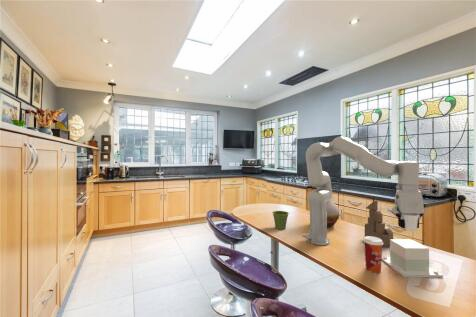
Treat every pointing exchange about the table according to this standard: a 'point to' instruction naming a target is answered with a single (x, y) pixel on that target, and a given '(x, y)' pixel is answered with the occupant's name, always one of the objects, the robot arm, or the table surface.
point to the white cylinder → (410, 221)
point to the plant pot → (280, 219)
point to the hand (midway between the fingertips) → (408, 226)
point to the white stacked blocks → (409, 259)
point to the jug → (331, 213)
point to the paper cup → (373, 253)
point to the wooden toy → (377, 225)
